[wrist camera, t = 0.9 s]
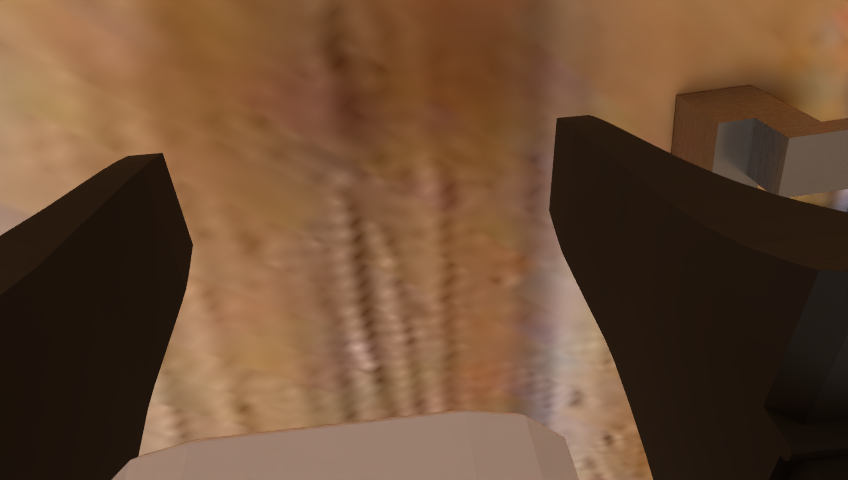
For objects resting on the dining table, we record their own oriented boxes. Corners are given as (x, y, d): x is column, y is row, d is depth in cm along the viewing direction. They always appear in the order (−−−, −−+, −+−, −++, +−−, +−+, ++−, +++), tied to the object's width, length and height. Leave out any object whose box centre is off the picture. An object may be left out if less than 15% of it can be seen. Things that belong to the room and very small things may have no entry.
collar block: (871, 248, 27) (966, 315, 23) (659, 280, 27) (716, 353, 22) (925, 60, 23) (1052, 100, 19) (676, 95, 23) (749, 143, 18)
